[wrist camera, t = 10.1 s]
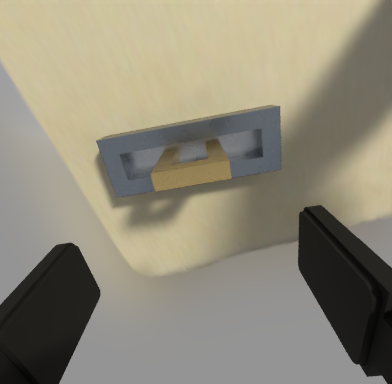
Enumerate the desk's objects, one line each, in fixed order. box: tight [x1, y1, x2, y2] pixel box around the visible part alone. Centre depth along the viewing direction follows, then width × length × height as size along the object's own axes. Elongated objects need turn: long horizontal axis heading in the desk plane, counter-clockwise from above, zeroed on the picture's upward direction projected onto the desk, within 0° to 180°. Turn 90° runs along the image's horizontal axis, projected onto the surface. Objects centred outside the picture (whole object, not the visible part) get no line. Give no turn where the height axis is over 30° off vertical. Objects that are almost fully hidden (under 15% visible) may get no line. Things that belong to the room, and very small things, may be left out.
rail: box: [96, 105, 281, 197], centre depth 26 cm, size 20×7×3 cm, turn 100°
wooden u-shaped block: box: [150, 139, 232, 192], centre depth 22 cm, size 7×2×9 cm, turn 100°
